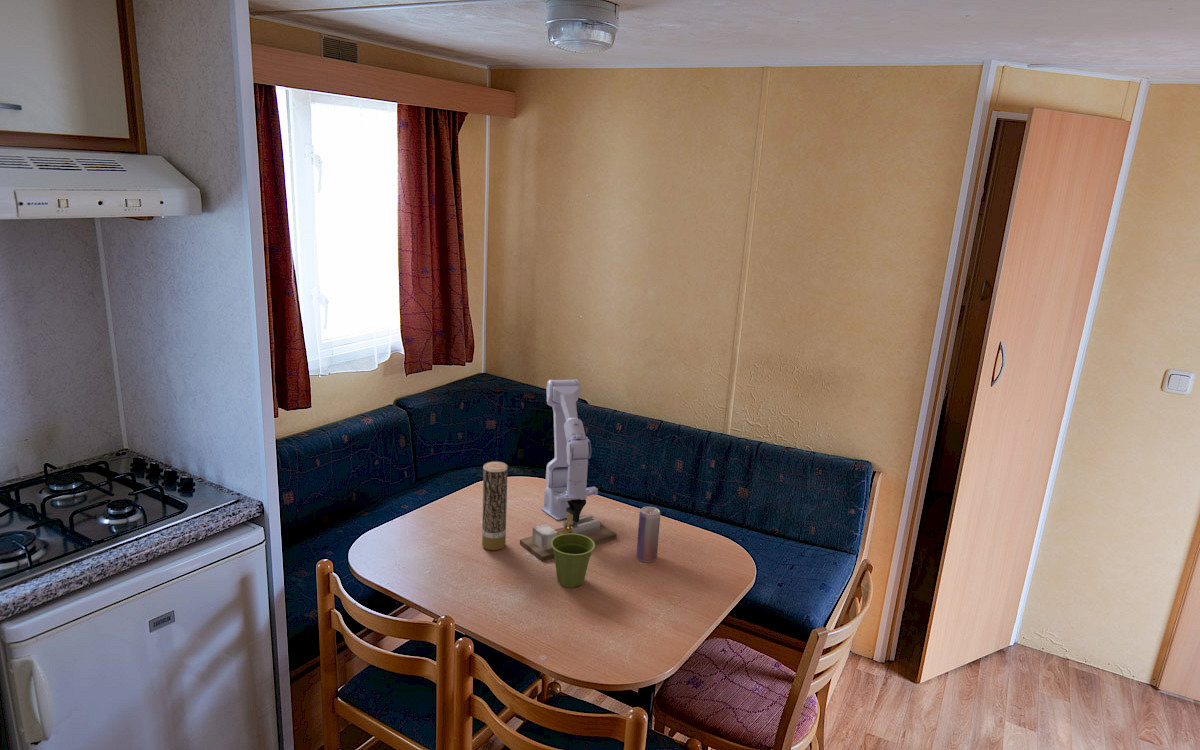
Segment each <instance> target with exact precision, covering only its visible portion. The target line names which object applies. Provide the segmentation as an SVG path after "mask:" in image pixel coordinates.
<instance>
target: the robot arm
mask: <svg viewBox="0 0 1200 750" xmlns="http://www.w3.org/2000/svg"><path fill="white" fill-rule="evenodd" d="M545 389H546V405H548V406H549V407H552V411H553V412H552V413H553V414H552V415H553V438H554V439H553V442H554V445H553V446H554V458H552V460H550V461H549V462H547V464H546V471H545V484H546V487H545V489H544V495H543V497H544V500H543V507H541V510H542V511H543V512H545V514H547V515H549V516H550V517H551V518H553V519H554V520H556V521H561V520H564V519H567V513H568V512H567V511H566V508H567V507H570V508H572V509H573V510H575V514H573V521H574V522H579V517H581V516H580V515H581V512H582V510H583V509H584V507H585V506H586V504H587V497H588V496H592V495H593V496H597V495H598V492H599V491H598V490H599V489H598V488H597V487H596V486H589V487H587V485H588V484H587V483H588V482H587V480H588V468H589V467H588V465H589V459H591V457H592V456H591V455H592V445H591V440H590V439H589V437H588V436H586V432H585V428H584V424H583V421H582V420H581V419H579V418H578V417H579V416H578V411H577V410H578V409H577V402H578V401H579V397H581V396H580V394H581V384H580V381H579V380H578V379H577V378H575V379H548V381H547V382H546V388H545Z"/></svg>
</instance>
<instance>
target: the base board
mask: <svg viewBox="0 0 1200 750" xmlns="http://www.w3.org/2000/svg"><path fill="white" fill-rule="evenodd" d="M592 520H595V518H592ZM561 529H564V526H563V527H560V528H557V529H554V530H555V531H557V530H561ZM617 536H618V534H617V533H616V532H615V531H613V530H611V529H610V528H608V527H606V526H605V525H604V524H602V523H601V522H600V529H599V533H596V534H592V535H589V536H587V537H589V538H591V539H592V540H593V541H594V543H595V546H598V545H600V544H604V543H607V542H609V541H613V540H616V539H617ZM519 545H520V546H521V547H523V548H524V549H525V550H527V551H528V552H529V553H530V554H532V555H533V556H534V557H535V558H536V559H538V560H539V561H540V560H541V561H540V562H545V561H547V560H551V559H555V555H554V552H553V548H551V549H547V550H543V549H542V548H540V547H539V546H538V545H536V544H535V543H534V542H532V535H531V536H528V537H524V538H521V539H519Z"/></svg>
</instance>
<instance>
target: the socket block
mask: <svg viewBox="0 0 1200 750" xmlns="http://www.w3.org/2000/svg"><path fill="white" fill-rule="evenodd" d="M555 530H556V529H553V528H552V527H551V526H549V525H548V524H547V523H544V524H540V525H536V526H533V527H532V534H531V536H532V542H534V543H535V544H536V545H538V546H539V547H540V548H542V549H543V550H547V549H551V548H552V546H551V541H552V539H553V538H554V537H556V536H558V532H556V531H555Z"/></svg>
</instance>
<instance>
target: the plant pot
mask: <svg viewBox="0 0 1200 750" xmlns="http://www.w3.org/2000/svg"><path fill="white" fill-rule="evenodd" d="M551 546H552V548H553V552H554V555H555V558H554V563H555V572H556V573H555V574H556V580H557V583H559V584H560V585H561V586H563V587H565V588H576V587H577V586H582V585H583V584H584V582H585V578H586V574H587V571H588V570H587V569H588V567H589V562H590V559H591V556H592V552H593V551H594V550H595V548H596V545H595V543H594V541H593V540H592V539H591V538H589V537H587V536H584V535H581V534H574V533H568V534H561V535H558V536H556V537H554V538H553V539H552V541H551Z"/></svg>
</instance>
